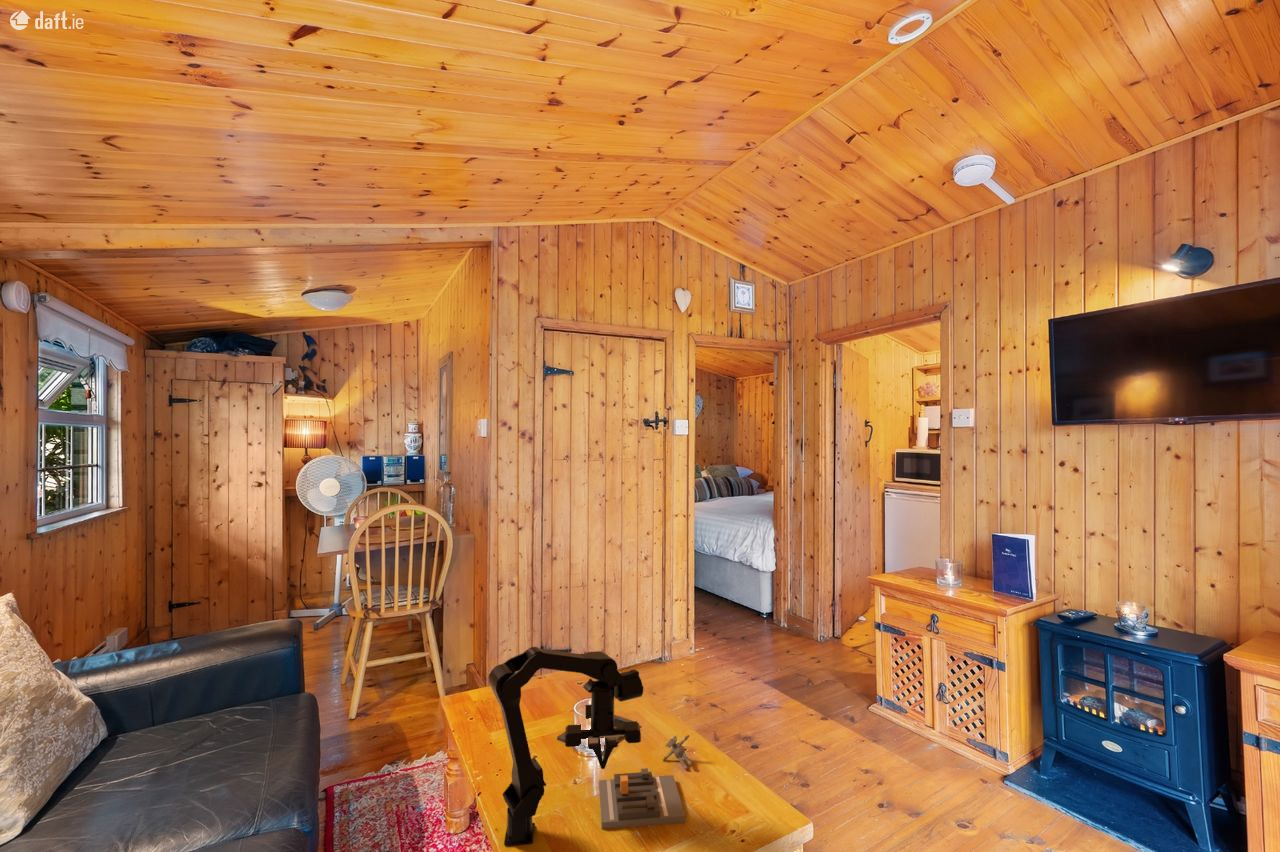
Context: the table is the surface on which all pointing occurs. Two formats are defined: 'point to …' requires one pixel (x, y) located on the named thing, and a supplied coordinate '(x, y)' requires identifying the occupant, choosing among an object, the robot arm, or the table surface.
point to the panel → (642, 822)
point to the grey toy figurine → (678, 751)
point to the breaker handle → (624, 784)
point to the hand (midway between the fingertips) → (602, 768)
